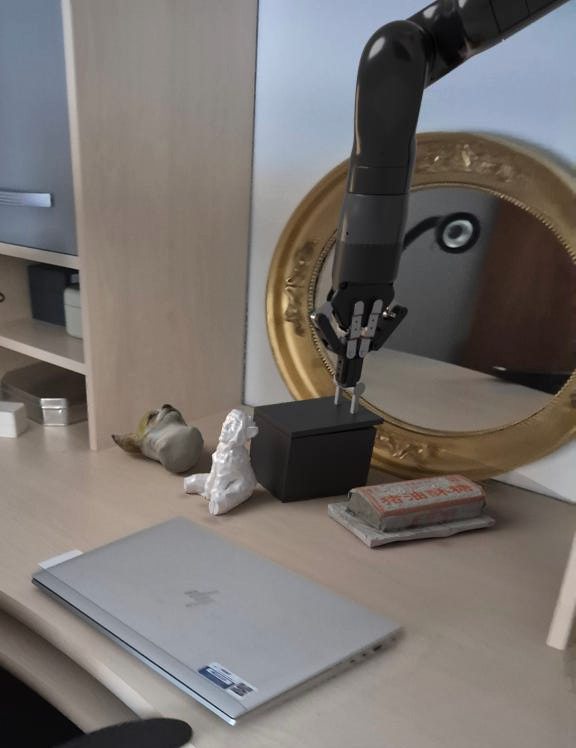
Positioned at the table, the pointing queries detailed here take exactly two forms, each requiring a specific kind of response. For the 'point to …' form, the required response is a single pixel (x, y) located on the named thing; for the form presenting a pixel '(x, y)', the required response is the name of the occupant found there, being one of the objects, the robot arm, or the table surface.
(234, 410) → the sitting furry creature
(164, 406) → the ceramic sculpture
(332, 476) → the open hinged box
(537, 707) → the table surface
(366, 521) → the packaged product
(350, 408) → the box lid
